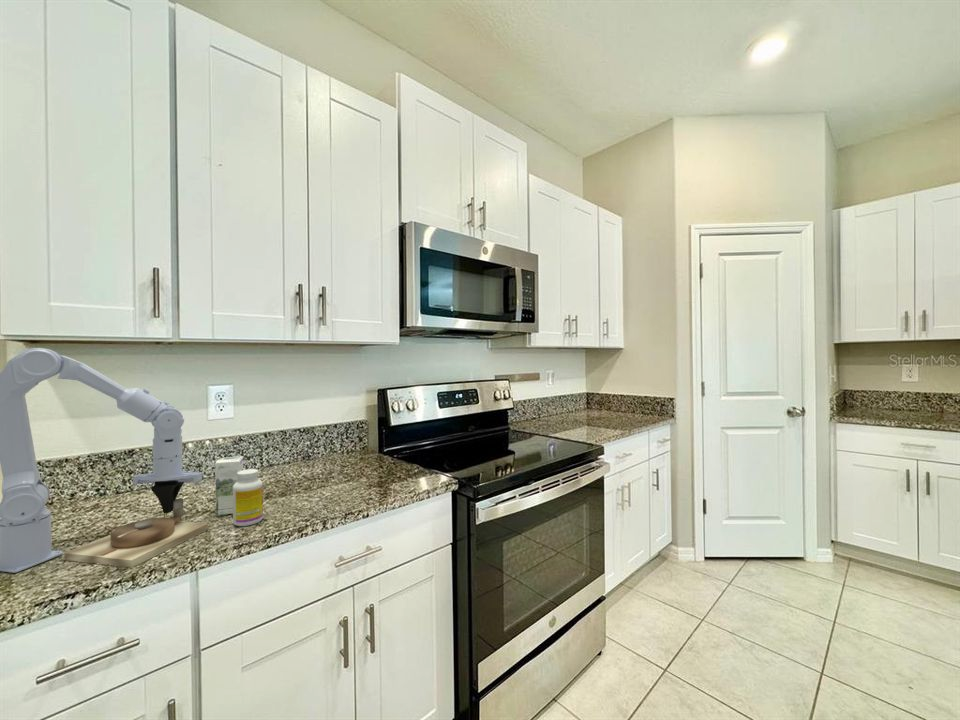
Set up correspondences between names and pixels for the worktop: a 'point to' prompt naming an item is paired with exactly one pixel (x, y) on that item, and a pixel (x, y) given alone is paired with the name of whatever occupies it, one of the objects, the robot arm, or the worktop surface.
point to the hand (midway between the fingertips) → (168, 511)
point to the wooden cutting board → (135, 555)
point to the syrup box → (226, 483)
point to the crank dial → (147, 529)
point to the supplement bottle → (247, 498)
